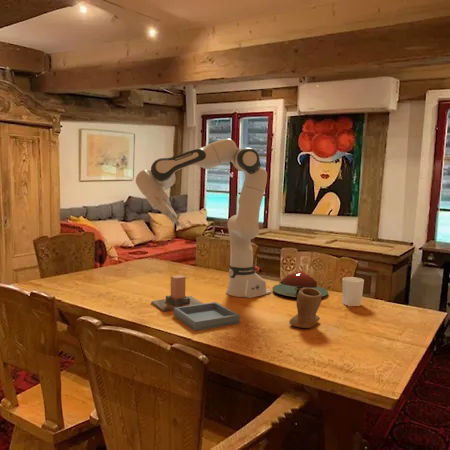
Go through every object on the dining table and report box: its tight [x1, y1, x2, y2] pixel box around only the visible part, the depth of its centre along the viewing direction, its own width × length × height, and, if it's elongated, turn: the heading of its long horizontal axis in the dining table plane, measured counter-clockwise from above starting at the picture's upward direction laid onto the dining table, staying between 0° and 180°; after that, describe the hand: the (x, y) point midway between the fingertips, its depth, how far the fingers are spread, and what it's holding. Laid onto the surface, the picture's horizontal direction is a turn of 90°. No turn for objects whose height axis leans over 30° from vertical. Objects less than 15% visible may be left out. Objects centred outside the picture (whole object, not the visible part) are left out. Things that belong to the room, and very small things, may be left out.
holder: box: [150, 294, 205, 313], centre depth 212 cm, size 20×14×4 cm
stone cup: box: [288, 288, 323, 329], centre depth 189 cm, size 15×12×15 cm
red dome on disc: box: [272, 270, 329, 298], centre depth 236 cm, size 28×28×11 cm
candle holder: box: [342, 276, 365, 307], centre depth 219 cm, size 10×10×12 cm
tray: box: [173, 301, 241, 332], centre depth 192 cm, size 20×20×4 cm
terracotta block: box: [170, 274, 187, 300], centre depth 211 cm, size 5×5×12 cm
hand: (176, 223), depth 214 cm, fingers open, 8 cm apart
